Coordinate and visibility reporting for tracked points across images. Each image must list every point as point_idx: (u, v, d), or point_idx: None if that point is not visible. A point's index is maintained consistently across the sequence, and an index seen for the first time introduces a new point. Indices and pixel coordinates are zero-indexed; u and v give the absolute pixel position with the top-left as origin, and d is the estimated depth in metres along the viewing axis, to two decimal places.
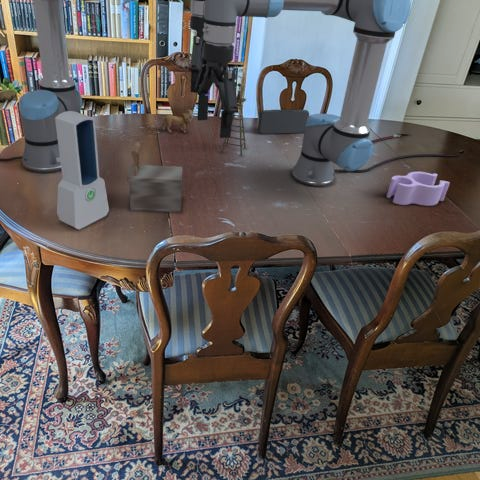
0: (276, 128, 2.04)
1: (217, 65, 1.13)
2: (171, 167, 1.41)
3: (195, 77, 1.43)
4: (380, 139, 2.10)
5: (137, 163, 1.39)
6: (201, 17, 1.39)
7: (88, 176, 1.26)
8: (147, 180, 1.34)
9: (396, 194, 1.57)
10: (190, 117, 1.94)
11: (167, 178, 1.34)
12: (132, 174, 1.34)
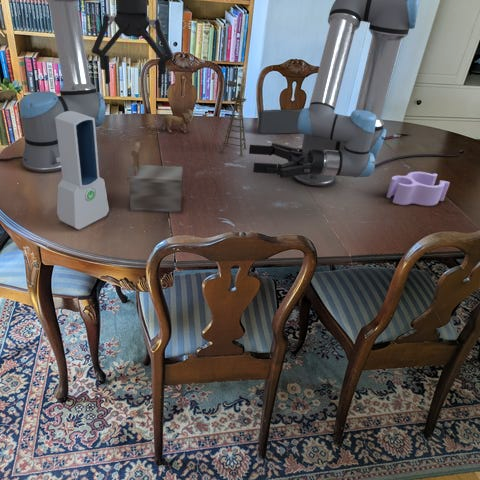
0: (276, 128, 2.04)
1: None
2: (171, 167, 1.41)
3: None
4: None
5: (137, 163, 1.39)
6: None
7: (88, 176, 1.26)
8: (147, 180, 1.34)
9: (396, 194, 1.57)
10: (190, 117, 1.94)
11: (167, 178, 1.34)
12: (132, 174, 1.34)
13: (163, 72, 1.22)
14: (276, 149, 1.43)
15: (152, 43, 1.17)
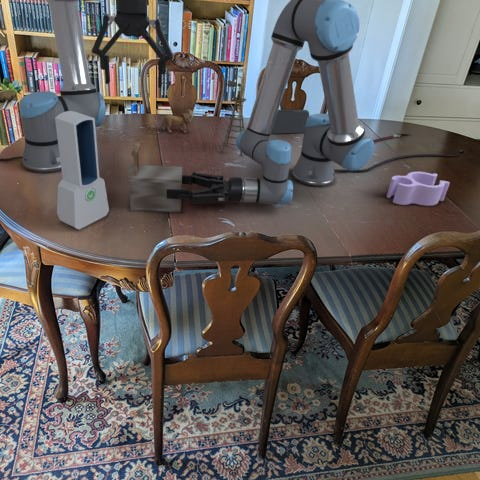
0: (276, 128, 2.04)
1: None
2: (171, 167, 1.41)
3: None
4: (380, 139, 2.10)
5: (137, 163, 1.39)
6: None
7: (88, 176, 1.26)
8: (147, 180, 1.34)
9: (396, 194, 1.57)
10: (190, 117, 1.94)
11: (167, 178, 1.34)
12: (132, 174, 1.34)
13: (163, 72, 1.22)
14: (196, 178, 1.45)
15: (152, 43, 1.17)
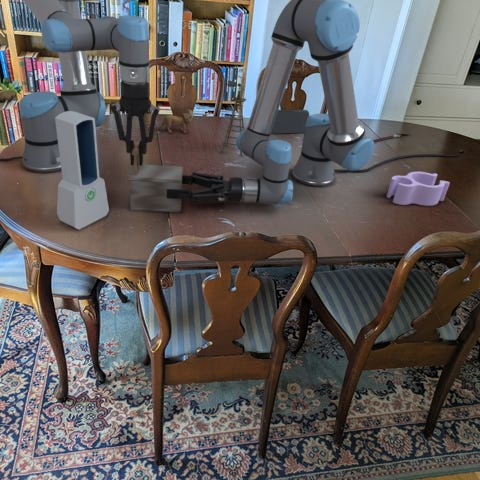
0: (276, 128, 2.04)
1: None
2: (171, 167, 1.41)
3: None
4: (380, 139, 2.10)
5: (137, 162, 1.39)
6: (122, 80, 1.22)
7: (88, 176, 1.26)
8: (147, 180, 1.34)
9: (396, 194, 1.57)
10: (190, 117, 1.94)
11: (167, 178, 1.34)
12: (132, 174, 1.34)
13: (143, 152, 1.33)
14: (196, 178, 1.45)
15: (142, 126, 1.29)
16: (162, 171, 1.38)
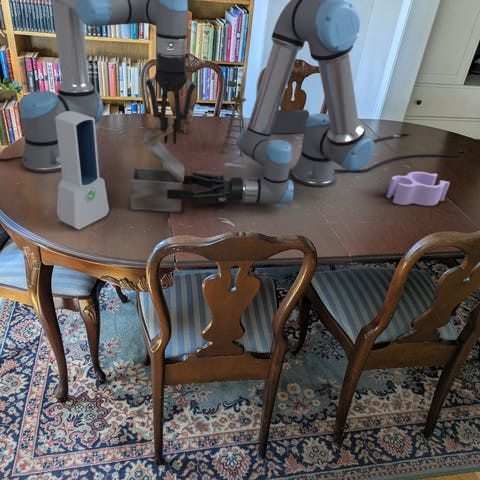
0: (276, 128, 2.04)
1: None
2: (177, 161, 1.40)
3: (160, 124, 1.30)
4: (380, 139, 2.10)
5: (156, 135, 1.34)
6: None
7: (88, 176, 1.26)
8: (158, 158, 1.30)
9: (396, 194, 1.57)
10: (190, 117, 1.94)
11: (174, 170, 1.33)
12: (149, 142, 1.30)
13: (178, 129, 1.30)
14: (196, 179, 1.45)
15: (178, 102, 1.26)
16: (170, 159, 1.36)
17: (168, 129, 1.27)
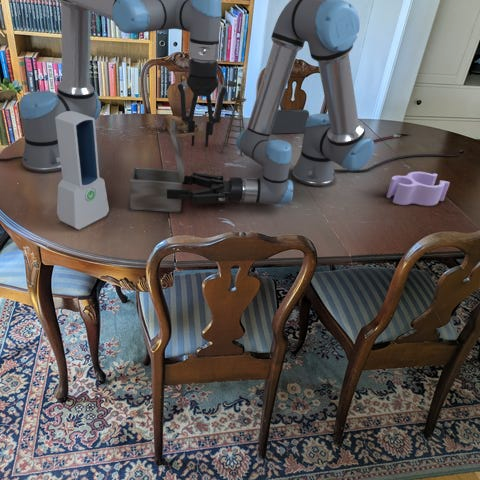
0: (276, 128, 2.04)
1: None
2: (182, 159, 1.40)
3: None
4: (380, 139, 2.10)
5: (180, 128, 1.34)
6: (191, 58, 1.21)
7: (88, 176, 1.26)
8: (175, 150, 1.30)
9: (396, 194, 1.57)
10: None
11: (181, 168, 1.33)
12: (175, 132, 1.28)
13: (210, 133, 1.32)
14: (196, 179, 1.45)
15: (210, 106, 1.27)
16: (181, 156, 1.36)
17: (199, 131, 1.28)
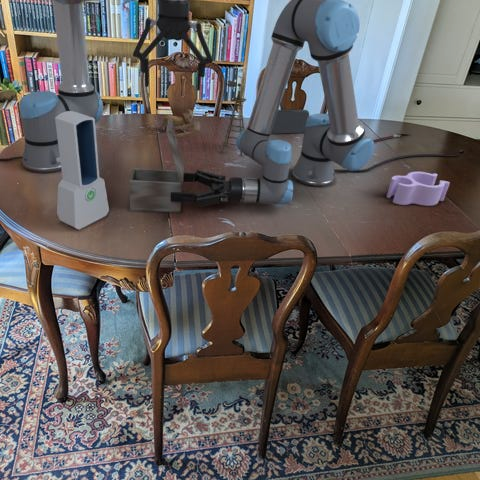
0: (276, 128, 2.04)
1: None
2: (181, 159, 1.40)
3: (140, 65, 1.21)
4: (380, 139, 2.10)
5: (177, 128, 1.34)
6: None
7: (88, 176, 1.26)
8: (172, 150, 1.30)
9: (396, 194, 1.57)
10: (190, 117, 1.94)
11: (180, 168, 1.33)
12: (171, 132, 1.28)
13: (202, 75, 1.23)
14: (199, 176, 1.46)
15: (193, 46, 1.18)
16: (179, 156, 1.36)
17: (196, 130, 1.28)
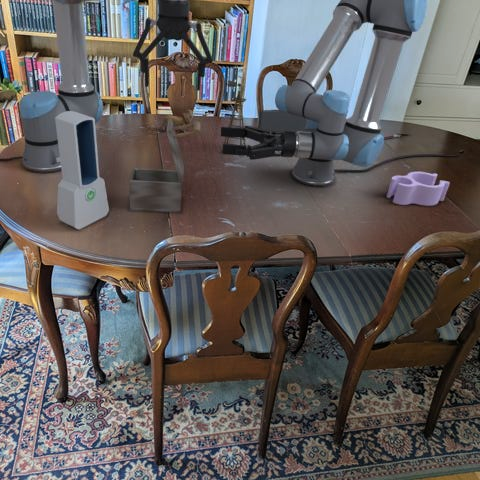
0: (276, 128, 2.04)
1: None
2: (181, 159, 1.40)
3: (140, 65, 1.21)
4: None
5: (177, 128, 1.34)
6: None
7: (88, 176, 1.26)
8: (173, 150, 1.29)
9: (396, 194, 1.57)
10: (190, 117, 1.94)
11: (180, 168, 1.33)
12: (171, 132, 1.28)
13: (202, 75, 1.23)
14: (248, 131, 1.39)
15: (193, 46, 1.18)
16: (179, 156, 1.36)
17: (196, 130, 1.28)
